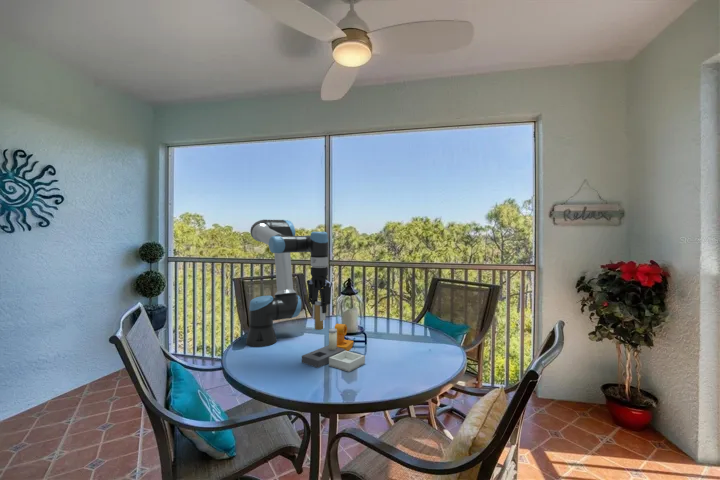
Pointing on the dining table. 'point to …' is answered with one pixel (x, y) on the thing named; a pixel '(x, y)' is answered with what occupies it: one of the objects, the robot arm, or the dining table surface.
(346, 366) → the parts tray
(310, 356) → the fuse block
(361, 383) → the dining table surface
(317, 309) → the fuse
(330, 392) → the dining table surface
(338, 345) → the bracket
